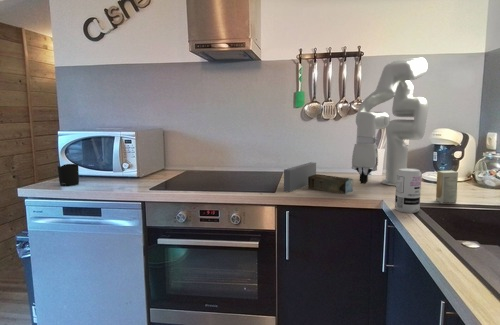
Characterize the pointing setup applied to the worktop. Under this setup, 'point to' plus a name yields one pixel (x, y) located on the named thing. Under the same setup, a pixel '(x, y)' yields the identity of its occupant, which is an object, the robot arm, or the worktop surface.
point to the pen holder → (68, 174)
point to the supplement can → (408, 190)
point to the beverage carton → (330, 183)
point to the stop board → (298, 176)
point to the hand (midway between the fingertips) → (363, 183)
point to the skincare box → (446, 186)
